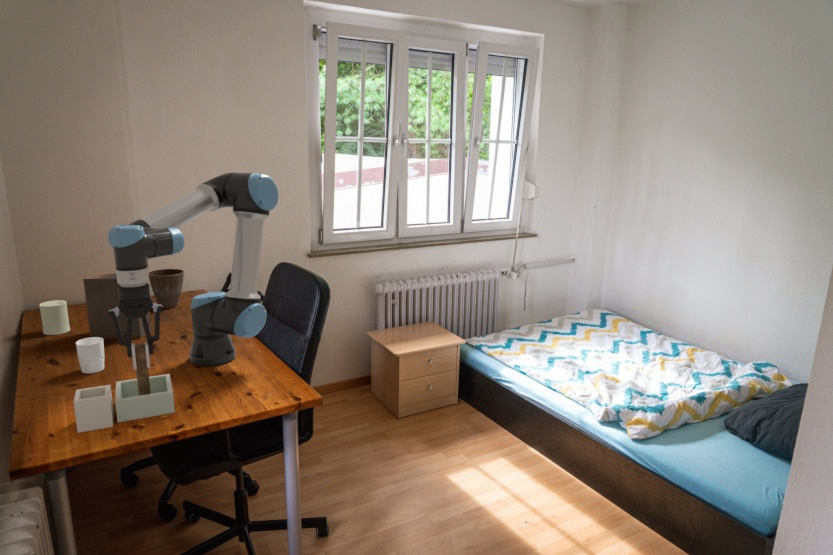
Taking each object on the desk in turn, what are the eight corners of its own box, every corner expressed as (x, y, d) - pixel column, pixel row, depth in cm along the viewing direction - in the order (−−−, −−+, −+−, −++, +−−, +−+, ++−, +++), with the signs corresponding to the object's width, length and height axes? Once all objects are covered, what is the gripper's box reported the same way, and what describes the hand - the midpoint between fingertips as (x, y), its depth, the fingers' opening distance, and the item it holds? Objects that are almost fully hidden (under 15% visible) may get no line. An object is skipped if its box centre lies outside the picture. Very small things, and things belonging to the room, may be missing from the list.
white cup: (76, 375, 183) (72, 346, 180) (83, 366, 190) (79, 338, 188) (103, 373, 185) (99, 344, 183) (109, 364, 192) (106, 336, 190)
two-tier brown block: (155, 326, 232) (147, 241, 224) (141, 337, 218) (132, 248, 210) (107, 326, 231) (97, 241, 223) (89, 338, 217) (78, 247, 209)
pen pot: (114, 416, 156) (110, 384, 153) (113, 429, 149) (109, 396, 146) (80, 422, 152) (76, 389, 150) (78, 436, 145) (73, 401, 143)
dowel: (151, 396, 161) (145, 342, 157) (151, 400, 158) (145, 346, 155) (139, 398, 160) (133, 344, 156) (139, 402, 157) (133, 347, 154)
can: (68, 333, 222) (64, 304, 219) (40, 336, 219) (36, 306, 216) (72, 326, 231) (68, 298, 228) (45, 329, 227) (41, 300, 224)
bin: (171, 395, 169) (169, 373, 167) (175, 415, 157) (172, 392, 155) (118, 404, 163) (116, 381, 161) (117, 425, 151) (115, 401, 149)
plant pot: (180, 300, 271) (177, 267, 268) (191, 307, 260) (188, 272, 257) (147, 305, 262) (143, 271, 258) (156, 312, 251) (153, 277, 247)
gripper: (99, 290, 145) (109, 376, 150) (166, 284, 152) (173, 366, 157) (100, 283, 152) (110, 366, 157) (164, 278, 158) (171, 357, 164)
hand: (141, 366), depth 157 cm, fingers closed on dowel, 3 cm apart
